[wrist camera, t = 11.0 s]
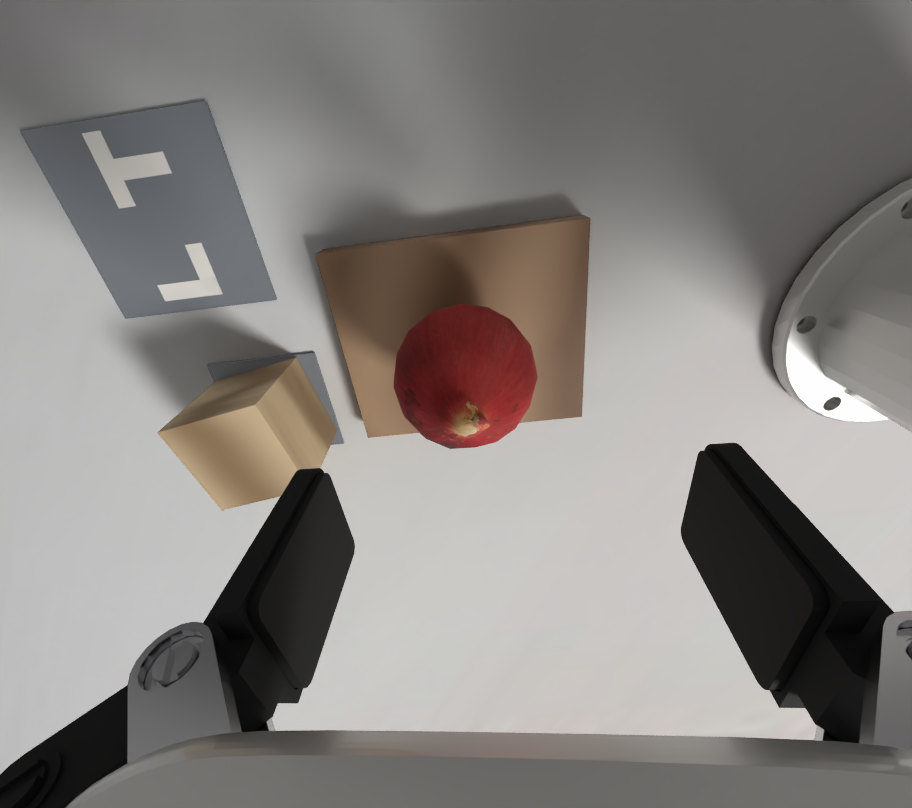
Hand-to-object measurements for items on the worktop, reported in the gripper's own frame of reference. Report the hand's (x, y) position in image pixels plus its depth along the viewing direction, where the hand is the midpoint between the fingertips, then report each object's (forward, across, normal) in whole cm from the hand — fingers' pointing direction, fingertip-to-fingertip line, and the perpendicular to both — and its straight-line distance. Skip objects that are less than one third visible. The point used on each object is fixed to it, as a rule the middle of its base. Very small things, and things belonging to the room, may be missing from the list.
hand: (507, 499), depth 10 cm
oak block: (+11, +13, +3) cm, 17 cm away
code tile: (+11, +15, -7) cm, 20 cm away
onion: (+11, +2, 0) cm, 11 cm away
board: (+12, +2, 0) cm, 12 cm away
